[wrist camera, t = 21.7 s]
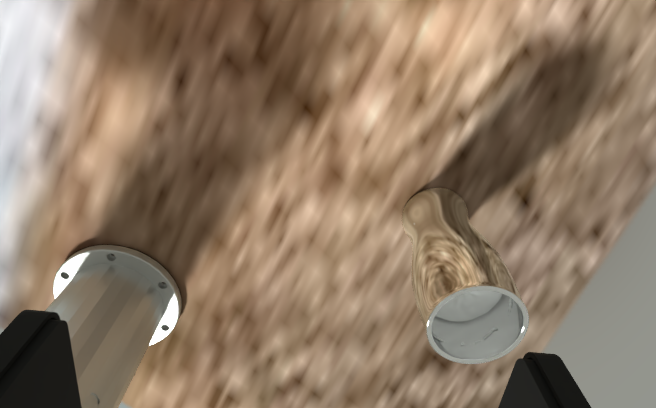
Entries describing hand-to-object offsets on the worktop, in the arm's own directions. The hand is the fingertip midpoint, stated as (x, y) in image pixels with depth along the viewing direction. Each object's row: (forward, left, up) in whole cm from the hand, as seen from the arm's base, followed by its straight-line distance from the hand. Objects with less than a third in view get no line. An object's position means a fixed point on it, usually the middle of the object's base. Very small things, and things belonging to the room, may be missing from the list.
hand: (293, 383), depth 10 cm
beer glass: (-12, -12, -32) cm, 36 cm away
